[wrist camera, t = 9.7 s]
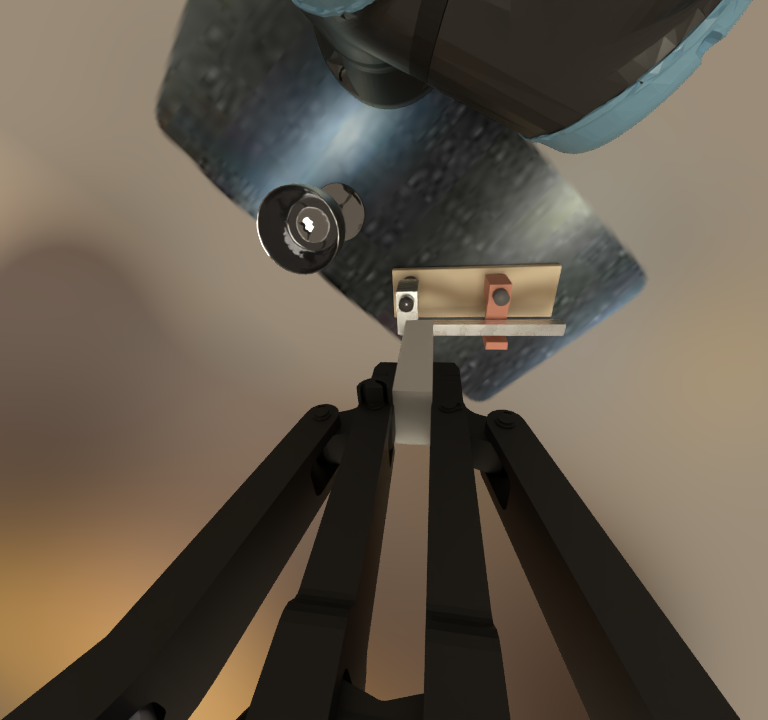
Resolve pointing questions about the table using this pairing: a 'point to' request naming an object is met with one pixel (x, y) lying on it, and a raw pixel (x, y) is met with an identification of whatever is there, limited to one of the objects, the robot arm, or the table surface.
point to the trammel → (409, 311)
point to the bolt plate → (481, 289)
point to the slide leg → (496, 306)
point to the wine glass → (308, 224)
